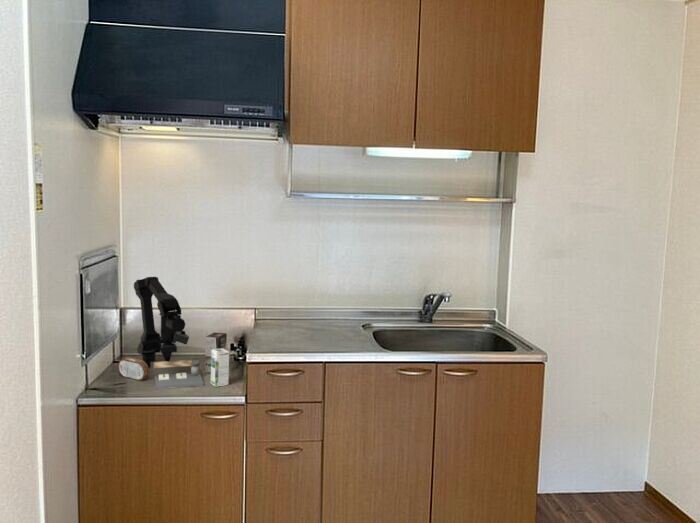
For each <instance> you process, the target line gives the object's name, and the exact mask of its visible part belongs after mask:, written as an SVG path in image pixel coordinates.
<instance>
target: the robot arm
mask: <svg viewBox="0 0 700 523" xmlns="http://www.w3.org/2000/svg"><path fill="white" fill-rule="evenodd" d="M133 289H134V292H135V295H136V297H138V299H139V301H140V312H141V320H142V330H143V332H142V334H141V336H140V342H139V344H138V346H137V348H136V349H137V353H138V354H139V355H141V360H143V361H144V362H145V363H146V364H147V365H148V368H149V369H150V362H157V361H156V353H161V354H162V357H163V360H164V361H171V357H172V353H177V352H178V347H177V344H176V343H180V344H182V345H187V344H188V342H189V338H190V336H189V335H188V334H186V331H185V327H186V322H185V320H184V319H183V318H182V316H181V315H182V308H181V305H180V303H179V301H178V299H177V298H176V297H175V296H174V295H172V294H170V293H168V292H167V290H166V289H165V287H164V286H163V285H162V283H161V281H159V277H158V276H146V277H144V278H142V279H136V280H135V282H134V283H133ZM153 296H154V297H155V299H156V300H157V303H156V304H157V308H158V311H159V314H158V315H159V316H160V332H157V331H156V328H155V319H154V317H155V316H154V310H153V302H152V301H153V300H152V298H153Z"/></svg>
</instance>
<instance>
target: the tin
mask: <svg viewBox="0 0 700 523" xmlns="http://www.w3.org/2000/svg"><path fill="white" fill-rule="evenodd" d="M118 371H119V374H120V375H121V376H122V377H124V378H126V377H127V378H126V379H130V378H131V379H130V380H134V379H136V380H135V381H139V380H140V381H142V380H146V379H147V378H148V377H149V374H150V368H148V365H147V364H146V363H145V362H144V361H143V360H142V359H138V358H134V357H130V356H126V357H124V358H122V359H120V360H119V361H118Z"/></svg>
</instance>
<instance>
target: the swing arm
mask: <svg viewBox="0 0 700 523" xmlns="http://www.w3.org/2000/svg"><path fill="white" fill-rule="evenodd" d="M191 366H198V367H199V366H200V359H198V358H191V359H185V360H170V361H165V360H164V361H156V362H150V368H149V370H150V369H151V370H152V369H153V370H154V369H158V368H159V369H162V368H177V367H178V368H179V367H191Z"/></svg>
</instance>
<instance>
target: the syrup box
mask: <svg viewBox="0 0 700 523" xmlns="http://www.w3.org/2000/svg"><path fill="white" fill-rule="evenodd" d="M229 373H230V351H229V350H227V349H226V350H225V349H214V350H212V355H211V372H210V384H211V385H213V386H214V387H215V388H219V386H220V387H225V386H228V385H229V378H230V376H229V375H230V374H229Z"/></svg>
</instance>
